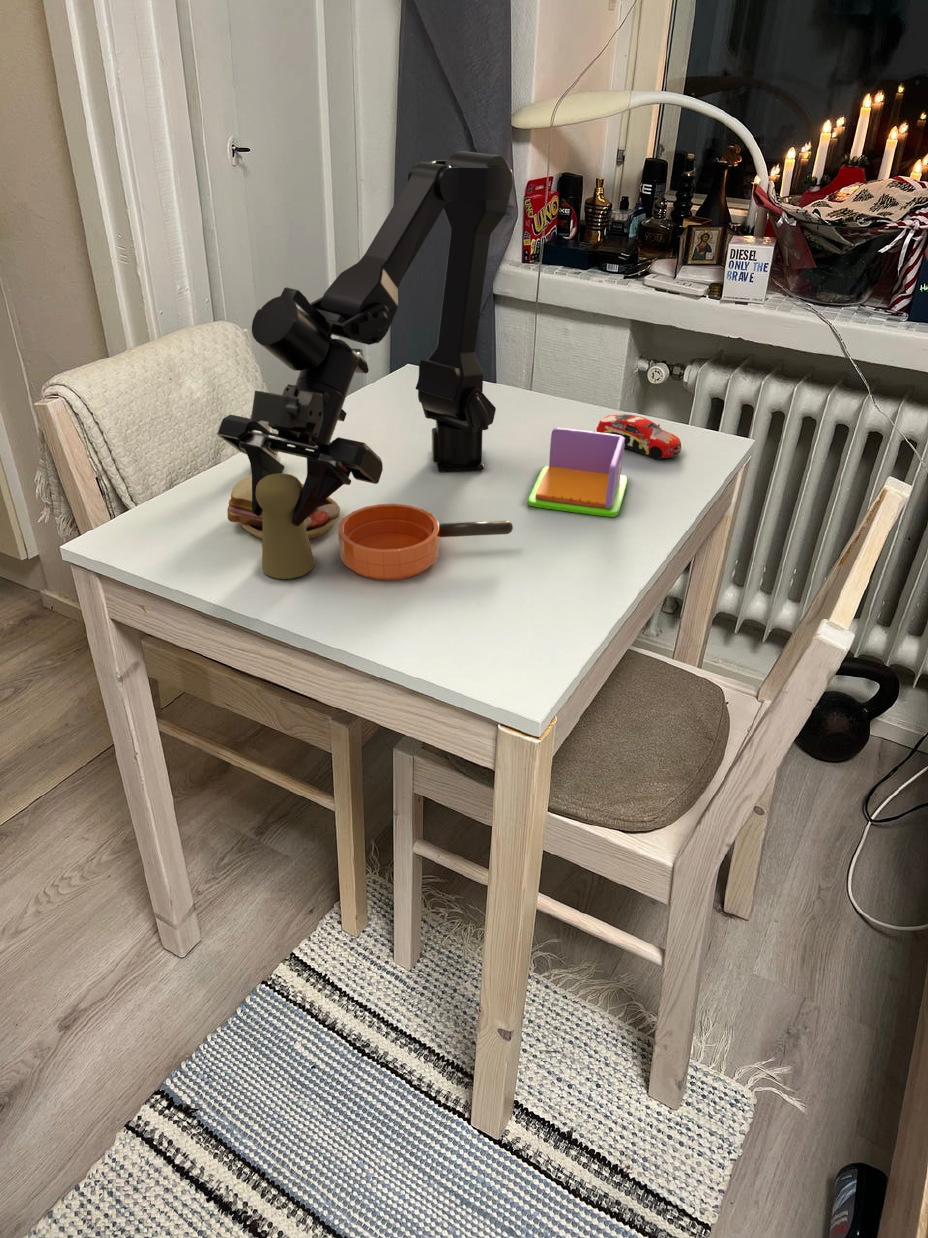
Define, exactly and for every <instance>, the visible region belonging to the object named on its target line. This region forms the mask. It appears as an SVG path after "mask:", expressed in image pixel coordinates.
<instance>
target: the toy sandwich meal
mask: <svg viewBox="0 0 928 1238" xmlns="http://www.w3.org/2000/svg"><path fill="white" fill-rule="evenodd" d="M301 484H302V486H304V483H301ZM226 513H227V520H228V522H230V523H239V524H240V525H241V527H242V528H243V529H245V531H247V532H249V533H250V534H252V535H253V536H255V537H256V538H259V539H261V540H262V529H263V512H262V513H261V515H260V516H256V515H254V514H253V513H252V474H251V475H248V476H246V477H244V478H242V479H240V480H239V481H238V482H237V483H236V484H235V485H234V486H233V487H232V490H231V493H230V499H229V500H228V506H227V512H226ZM340 516H341V507H340V505H339V504H338V503H337V502H336V501H335V500H334V499H332V497H330V496H329V497H328V498H327V499H325V500H324V501H323V502H322V503H321V504H320V505H319V506H318V507H317V508H316V509H315V510H314V511H313V512H312V513H311V514H310V515H309V516H308V517H307V518H306V519H305V520H304V523H305V527H306V531H307V534H308V538H309V540H311V539H314V538H317V537H319V536H321V535H323V534H325V533H326V532H328V530H330V529H331V528H332V527H333V526H334V525H335V524H336V523H337V521H338V520H339V518H340Z"/></svg>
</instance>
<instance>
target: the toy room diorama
mask: <svg viewBox="0 0 928 1238" xmlns="http://www.w3.org/2000/svg"><path fill="white" fill-rule="evenodd" d="M624 445H625V438H624V437H623V436H621V435H616V434H608V433H600V432H597V431H591V430H582V429H573V428H566V427H565V428H564V427H555V428H553V429H552V430H551V436H550V445H549V446H550V447H549V462H548V465H545V466H543V467H542V469H541V471H540V473H539V474H538V476H537V479H536V480H535V483H534V485H533V487H532V489H531V492H530V494H529V496H528V499H527V503H528V505H529V506H530V507H535V508H540V509H547V510H553V511H554V510H555V511H561V512H562V511H563V512H569V513H577V514H582V515H583V514H584V515H590V516H591V515H592V516H599V517H607V518H614V517H615V518H616V517H617V516H618V515H619V512H620V510H621V507H622V503H623V499H624V496H625V493H626V490H627V485H628V477H627V476H626V475H624V474H622V469H623V463H624V454H625V447H624Z"/></svg>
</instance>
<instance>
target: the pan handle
mask: <svg viewBox="0 0 928 1238" xmlns="http://www.w3.org/2000/svg"><path fill="white" fill-rule="evenodd" d="M438 525H439V538H453V537H477V536H497V535H499V536H500V535H509V534H511V532H513V530H514V526H513V523H512V522H511V521H509V520H489V521H488V520H487V521H468V522H467V521H466V522H446V523H445V522H444V523H441V522H440V523H438ZM433 530H434V527H433V528H432V532H433Z"/></svg>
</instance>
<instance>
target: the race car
mask: <svg viewBox="0 0 928 1238" xmlns="http://www.w3.org/2000/svg"><path fill="white" fill-rule="evenodd" d="M596 432H600V433H608V434H616V435H621V436H623V437H624V438H625V445H624V449H629V450H632V451H635V452H638V453H642V454H645V455H650V457H651V458H652V459H653V460H657V461H658V460H660V459H662V458H663V459H664V458H667V459H668V458H673V457H675V456H679V454H680V453H681V450H682V442H681V440H680V438H679V437H678V436H677V435H675V434H674V433H672V432H669V431H667V430H665V429H662V428H661V425H660V424H656V422H653V421H652V420H650V419H648V418H645V417H642V416H639V415H634V414H626V413H624V414H609V415H606V416H604V417H603V418H601V419H600V420H599V422H598V425H597V426H596Z"/></svg>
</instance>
